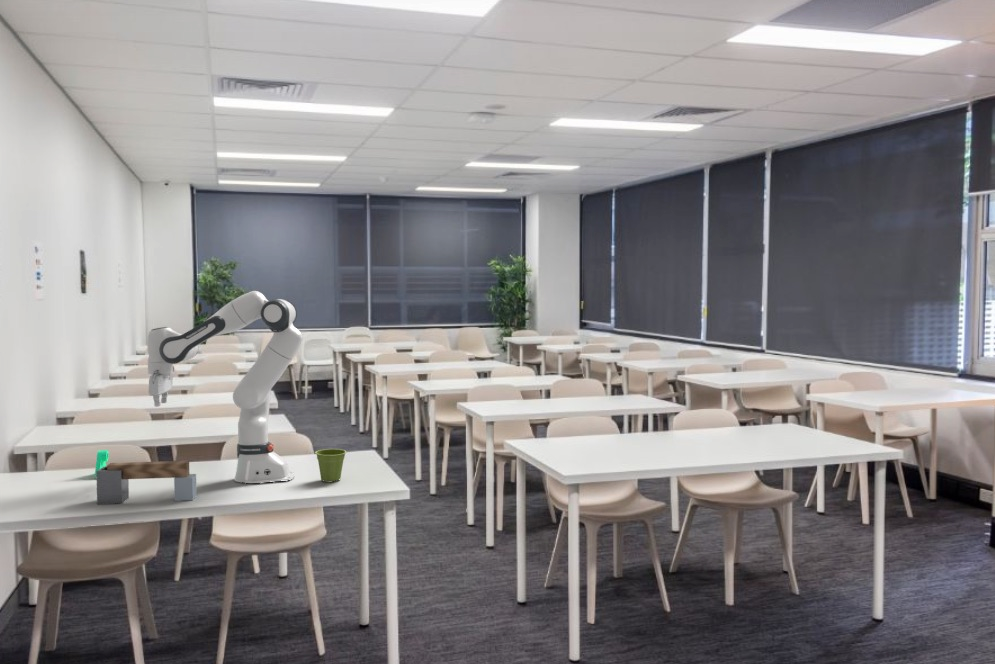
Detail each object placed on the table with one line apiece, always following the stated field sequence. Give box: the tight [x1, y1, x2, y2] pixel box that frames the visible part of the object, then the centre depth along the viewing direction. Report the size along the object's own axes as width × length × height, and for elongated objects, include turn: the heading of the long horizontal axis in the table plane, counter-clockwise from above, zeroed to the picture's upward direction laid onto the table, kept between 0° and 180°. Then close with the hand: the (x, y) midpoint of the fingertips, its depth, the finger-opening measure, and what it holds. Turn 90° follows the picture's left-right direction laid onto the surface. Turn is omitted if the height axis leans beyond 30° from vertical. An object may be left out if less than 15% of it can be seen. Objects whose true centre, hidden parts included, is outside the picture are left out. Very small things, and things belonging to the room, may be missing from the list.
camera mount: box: [94, 449, 110, 478], centre depth 309 cm, size 12×8×10 cm, turn 15°
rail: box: [106, 460, 190, 480], centre depth 272 cm, size 26×4×5 cm, turn 99°
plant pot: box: [314, 448, 347, 482], centre depth 301 cm, size 12×12×11 cm
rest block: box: [173, 473, 198, 502], centre depth 274 cm, size 6×6×8 cm
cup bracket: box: [95, 465, 130, 505], centre depth 270 cm, size 8×8×12 cm
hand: (160, 404), depth 302 cm, fingers open, 8 cm apart
